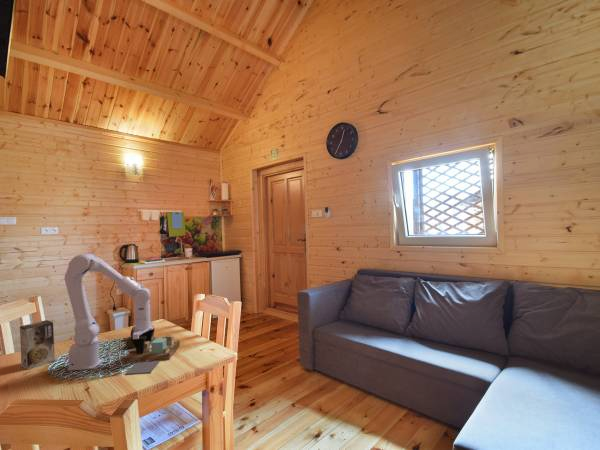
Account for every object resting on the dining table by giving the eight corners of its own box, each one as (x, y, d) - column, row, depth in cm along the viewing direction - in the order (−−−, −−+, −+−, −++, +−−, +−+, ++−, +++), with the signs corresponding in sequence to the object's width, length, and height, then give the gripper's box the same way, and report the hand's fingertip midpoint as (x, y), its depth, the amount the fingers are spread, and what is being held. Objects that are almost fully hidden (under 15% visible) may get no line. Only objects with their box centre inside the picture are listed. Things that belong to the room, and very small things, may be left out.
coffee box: (48, 357, 129) (47, 319, 129) (55, 360, 126) (54, 321, 126) (20, 366, 121) (19, 326, 121) (26, 370, 118) (25, 328, 118)
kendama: (119, 350, 136) (137, 333, 156) (142, 349, 137) (157, 333, 157) (119, 337, 136) (137, 322, 156) (142, 336, 137) (157, 321, 157)
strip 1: (136, 356, 125) (136, 344, 125) (140, 352, 129) (140, 341, 129) (166, 354, 126) (166, 343, 126) (169, 350, 130) (169, 339, 130)
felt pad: (125, 374, 112) (124, 373, 112) (135, 363, 121) (135, 362, 121) (150, 373, 113) (150, 372, 113) (159, 362, 122) (159, 361, 122)
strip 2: (144, 350, 131) (144, 338, 131) (148, 346, 135) (148, 335, 135) (171, 348, 132) (171, 337, 132) (174, 345, 136) (174, 334, 136)
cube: (151, 354, 125) (151, 343, 125) (155, 349, 129) (155, 338, 129) (163, 353, 125) (162, 342, 125) (166, 348, 130) (166, 338, 130)
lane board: (121, 362, 122) (121, 356, 122) (136, 348, 136) (136, 342, 136) (169, 359, 124) (169, 353, 124) (179, 345, 138) (179, 340, 138)
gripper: (145, 322, 120) (146, 356, 120) (159, 312, 134) (159, 342, 134) (126, 323, 119) (127, 358, 119) (142, 312, 134) (143, 343, 134)
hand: (143, 350), depth 127 cm, fingers open, 6 cm apart
